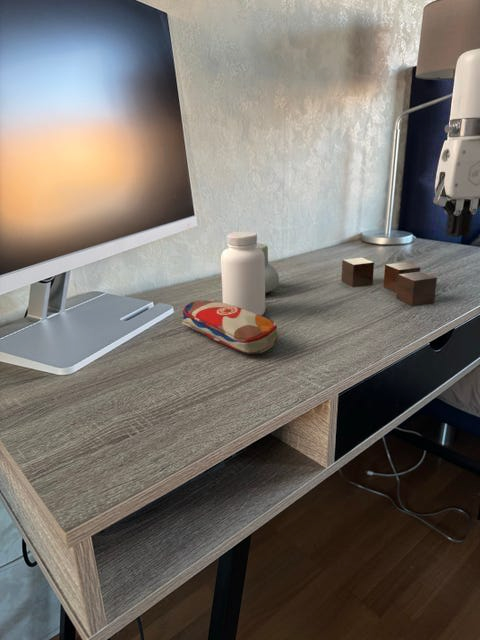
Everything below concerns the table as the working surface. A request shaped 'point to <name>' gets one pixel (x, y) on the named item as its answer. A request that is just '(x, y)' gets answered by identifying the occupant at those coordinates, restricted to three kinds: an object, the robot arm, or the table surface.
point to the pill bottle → (243, 273)
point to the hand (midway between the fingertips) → (457, 235)
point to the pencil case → (231, 325)
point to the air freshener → (269, 271)
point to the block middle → (393, 272)
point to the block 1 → (357, 272)
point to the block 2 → (416, 288)
